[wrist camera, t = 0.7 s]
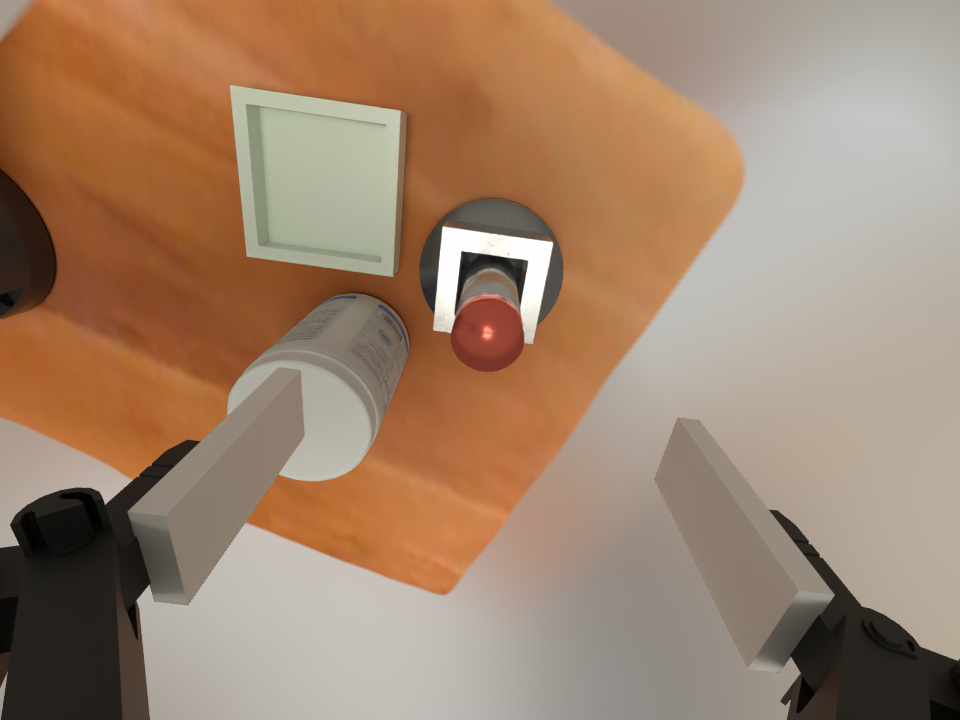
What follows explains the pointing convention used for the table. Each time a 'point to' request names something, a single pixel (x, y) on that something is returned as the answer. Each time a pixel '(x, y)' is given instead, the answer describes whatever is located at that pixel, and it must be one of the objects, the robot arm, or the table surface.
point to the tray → (320, 180)
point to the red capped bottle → (488, 316)
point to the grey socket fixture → (498, 234)
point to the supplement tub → (336, 380)
